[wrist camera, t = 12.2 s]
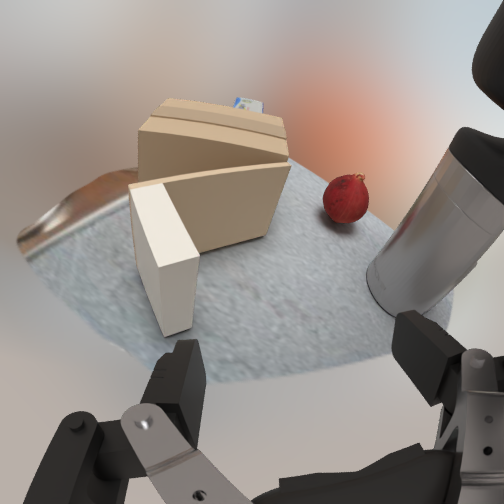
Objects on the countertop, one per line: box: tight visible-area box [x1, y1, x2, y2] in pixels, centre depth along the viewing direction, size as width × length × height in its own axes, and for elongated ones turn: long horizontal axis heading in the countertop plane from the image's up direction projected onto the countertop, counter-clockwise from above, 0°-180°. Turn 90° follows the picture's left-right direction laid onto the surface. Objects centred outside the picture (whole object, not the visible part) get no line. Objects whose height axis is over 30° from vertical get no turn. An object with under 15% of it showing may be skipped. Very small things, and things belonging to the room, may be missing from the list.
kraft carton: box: [138, 98, 289, 183], centre depth 30 cm, size 14×10×10 cm
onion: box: [323, 172, 369, 223], centre depth 34 cm, size 6×6×8 cm
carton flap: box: [128, 162, 291, 337], centre depth 23 cm, size 14×8×9 cm, turn 120°
